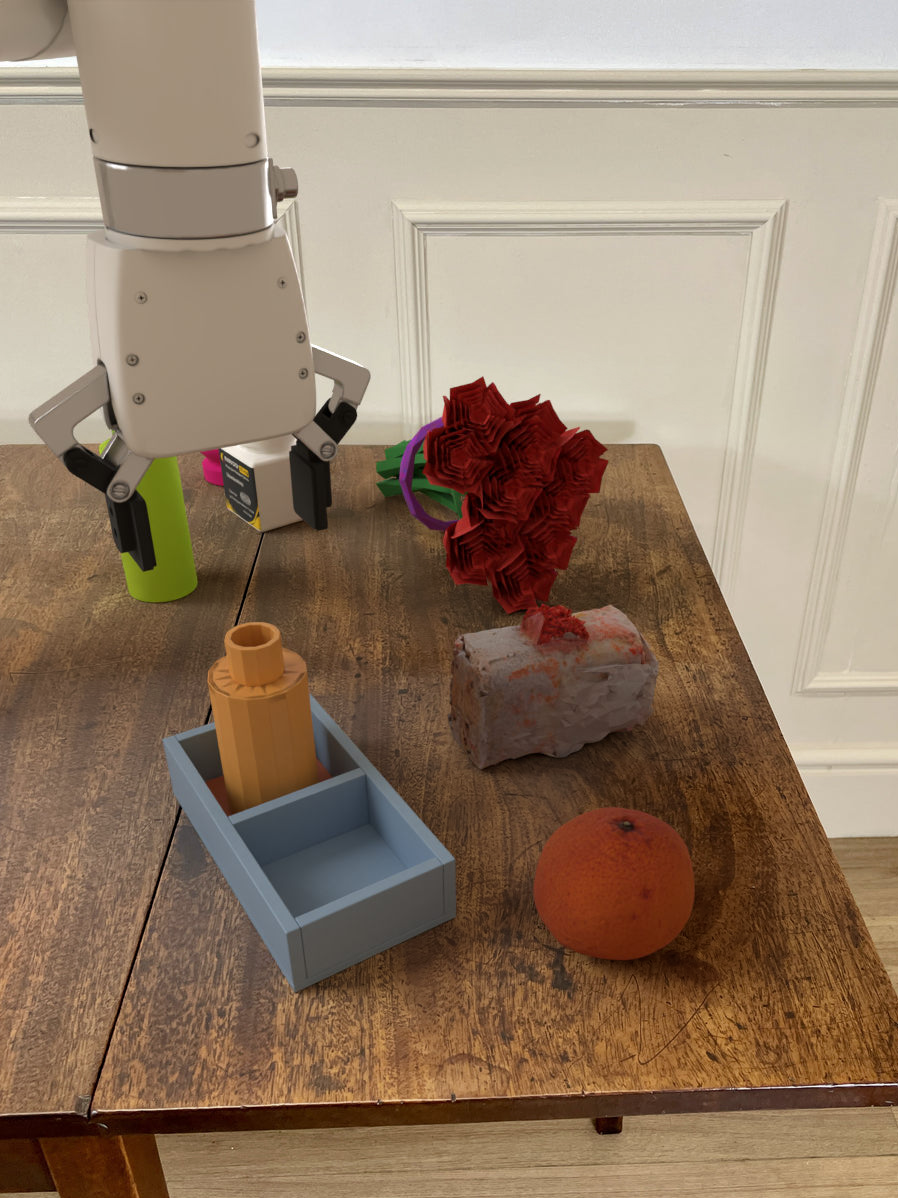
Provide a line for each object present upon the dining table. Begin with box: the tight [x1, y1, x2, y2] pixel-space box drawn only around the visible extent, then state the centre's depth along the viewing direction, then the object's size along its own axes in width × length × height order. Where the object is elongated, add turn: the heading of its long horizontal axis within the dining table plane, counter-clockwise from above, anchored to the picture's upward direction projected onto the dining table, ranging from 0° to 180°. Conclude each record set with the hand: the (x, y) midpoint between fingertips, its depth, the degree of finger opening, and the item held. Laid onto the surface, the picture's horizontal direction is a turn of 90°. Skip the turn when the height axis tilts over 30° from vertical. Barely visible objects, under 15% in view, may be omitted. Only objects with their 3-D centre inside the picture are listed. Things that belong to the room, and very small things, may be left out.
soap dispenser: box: [98, 430, 199, 603], centre depth 87 cm, size 6×7×20 cm
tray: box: [161, 692, 457, 993], centre depth 63 cm, size 10×19×5 cm, turn 34°
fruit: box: [532, 806, 696, 961], centre depth 58 cm, size 9×9×8 cm
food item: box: [447, 603, 660, 770], centre depth 72 cm, size 14×8×10 cm, turn 115°
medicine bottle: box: [219, 434, 304, 533], centre depth 101 cm, size 7×7×12 cm
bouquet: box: [375, 375, 609, 615], centre depth 97 cm, size 20×16×30 cm
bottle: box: [207, 621, 319, 815], centre depth 64 cm, size 6×6×12 cm
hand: (229, 539), depth 57 cm, fingers open, 9 cm apart
